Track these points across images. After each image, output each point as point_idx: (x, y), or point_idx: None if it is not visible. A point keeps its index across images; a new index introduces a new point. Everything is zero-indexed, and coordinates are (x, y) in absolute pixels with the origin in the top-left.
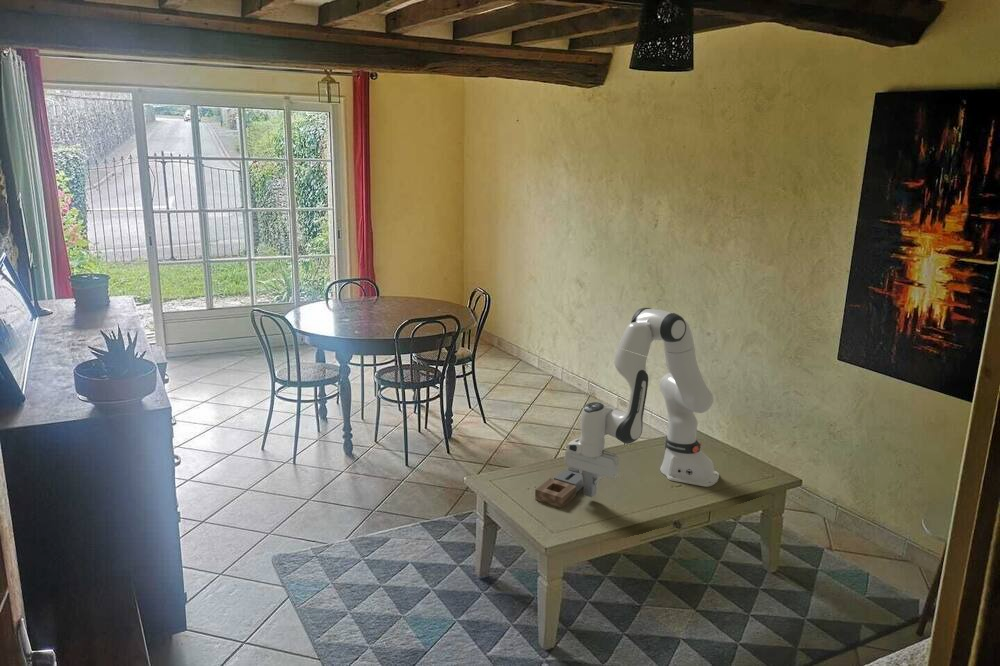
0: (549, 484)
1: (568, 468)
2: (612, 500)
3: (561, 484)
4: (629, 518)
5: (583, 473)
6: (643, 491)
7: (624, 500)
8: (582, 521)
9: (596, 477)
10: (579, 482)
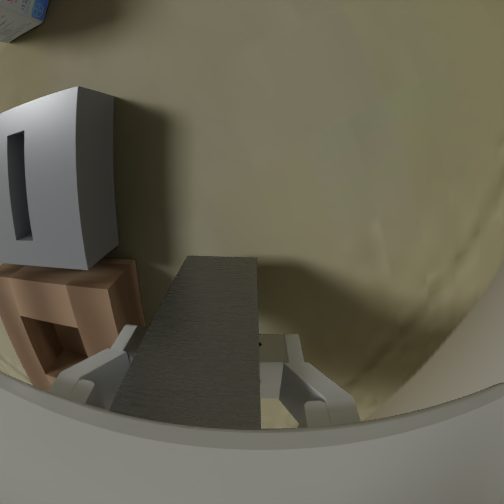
0: (24, 336)
1: (4, 42)
2: (350, 190)
3: (47, 312)
4: (447, 312)
5: (108, 380)
6: (439, 21)
7: (408, 155)
8: (281, 419)
9: (258, 355)
10: (86, 196)
